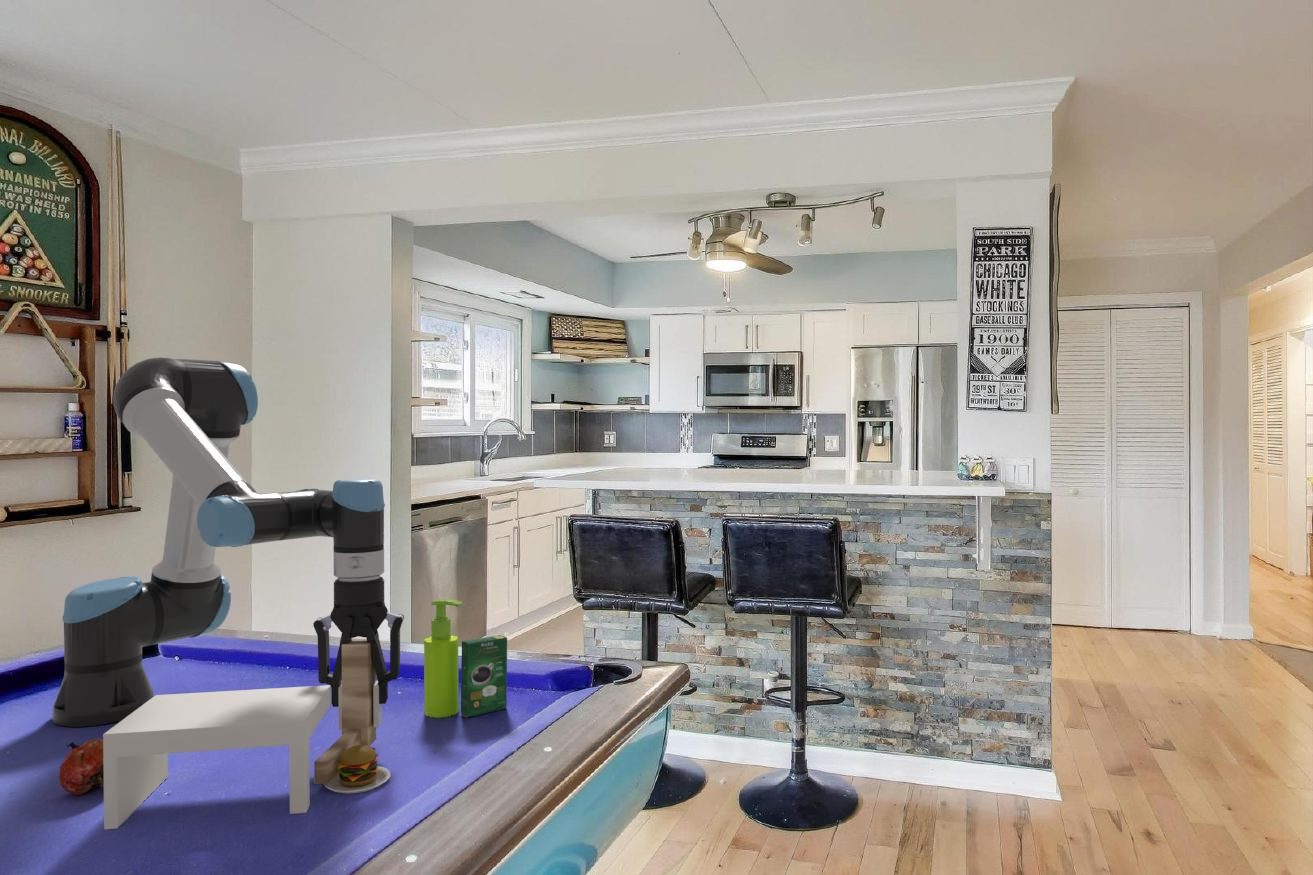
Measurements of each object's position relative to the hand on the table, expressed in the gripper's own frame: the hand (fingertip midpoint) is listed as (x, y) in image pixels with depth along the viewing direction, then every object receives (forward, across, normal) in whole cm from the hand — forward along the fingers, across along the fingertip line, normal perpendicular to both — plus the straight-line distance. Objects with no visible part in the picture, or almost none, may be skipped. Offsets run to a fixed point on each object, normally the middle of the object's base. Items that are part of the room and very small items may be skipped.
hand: (360, 724), depth 131 cm
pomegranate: (+4, -34, -9) cm, 36 cm away
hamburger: (+4, +2, -13) cm, 14 cm away
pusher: (+3, -1, -7) cm, 8 cm away
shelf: (+4, -15, -14) cm, 21 cm away
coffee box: (+4, +19, +14) cm, 24 cm away
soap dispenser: (+4, +12, +15) cm, 20 cm away
